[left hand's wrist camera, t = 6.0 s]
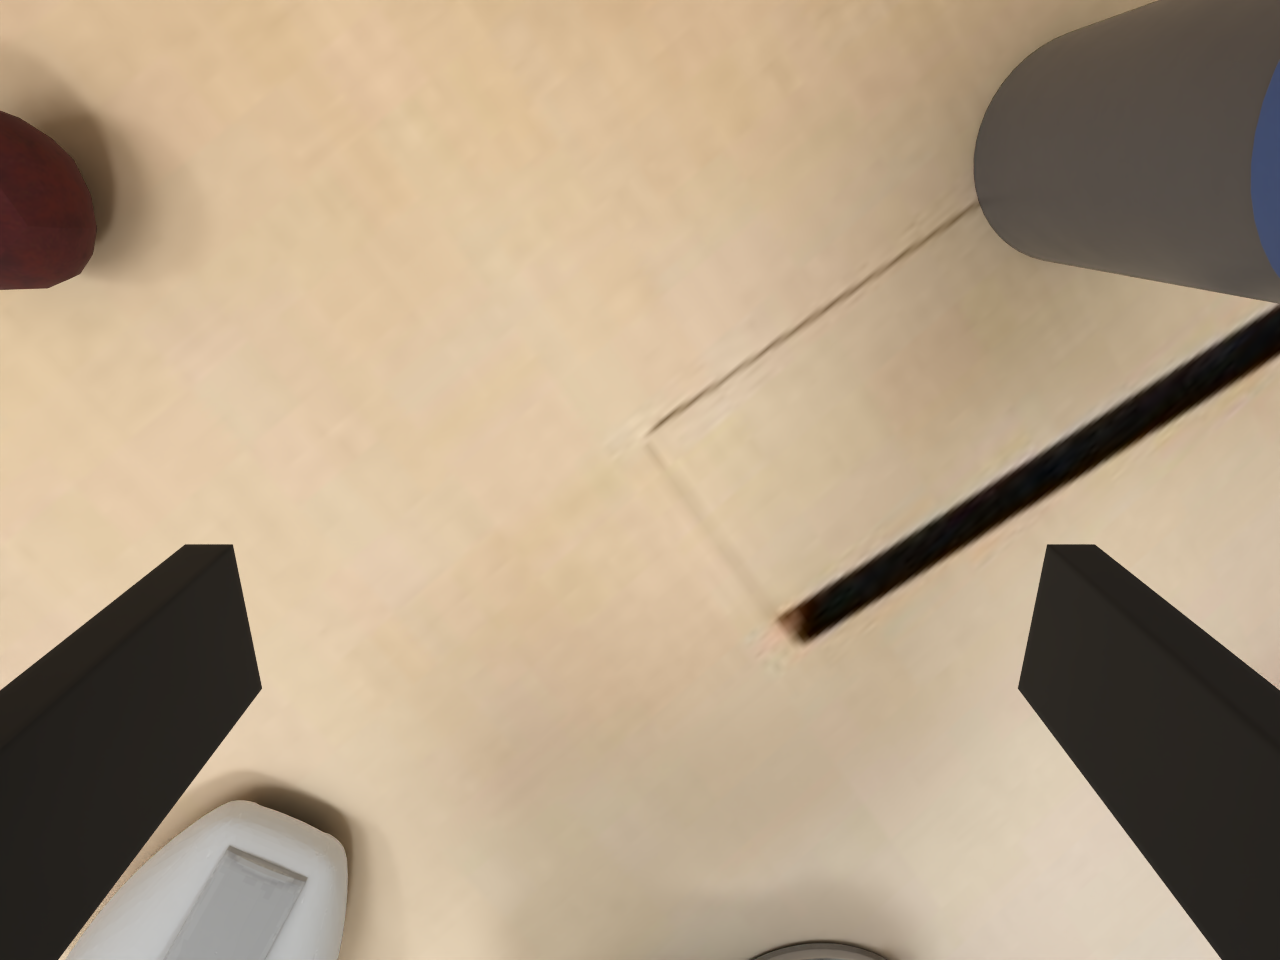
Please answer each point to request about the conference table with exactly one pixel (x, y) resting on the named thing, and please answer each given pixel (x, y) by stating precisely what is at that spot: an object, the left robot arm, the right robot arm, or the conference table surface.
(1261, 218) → the lid
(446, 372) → the conference table surface
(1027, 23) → the conference table surface
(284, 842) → the projector
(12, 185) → the dark red ball
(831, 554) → the conference table surface
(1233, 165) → the jar
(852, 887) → the conference table surface
